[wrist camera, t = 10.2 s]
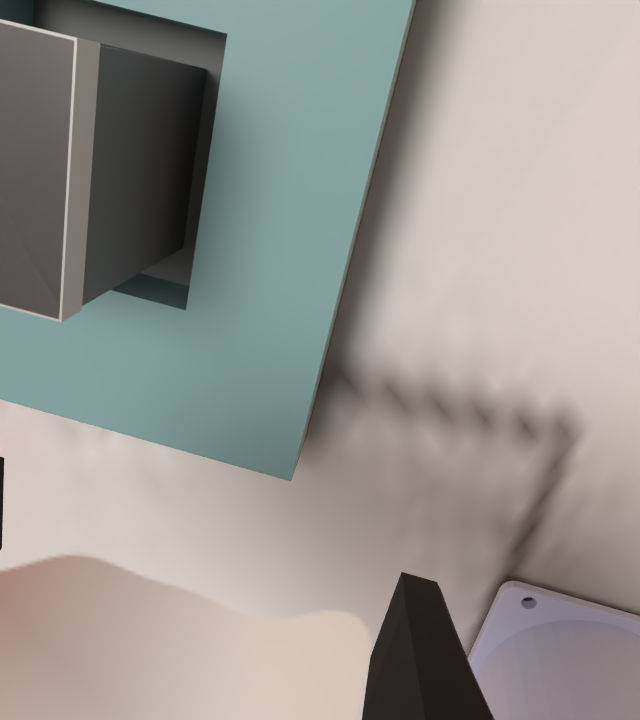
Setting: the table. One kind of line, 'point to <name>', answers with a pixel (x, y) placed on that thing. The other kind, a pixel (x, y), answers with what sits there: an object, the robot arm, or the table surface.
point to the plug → (89, 166)
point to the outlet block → (228, 228)
